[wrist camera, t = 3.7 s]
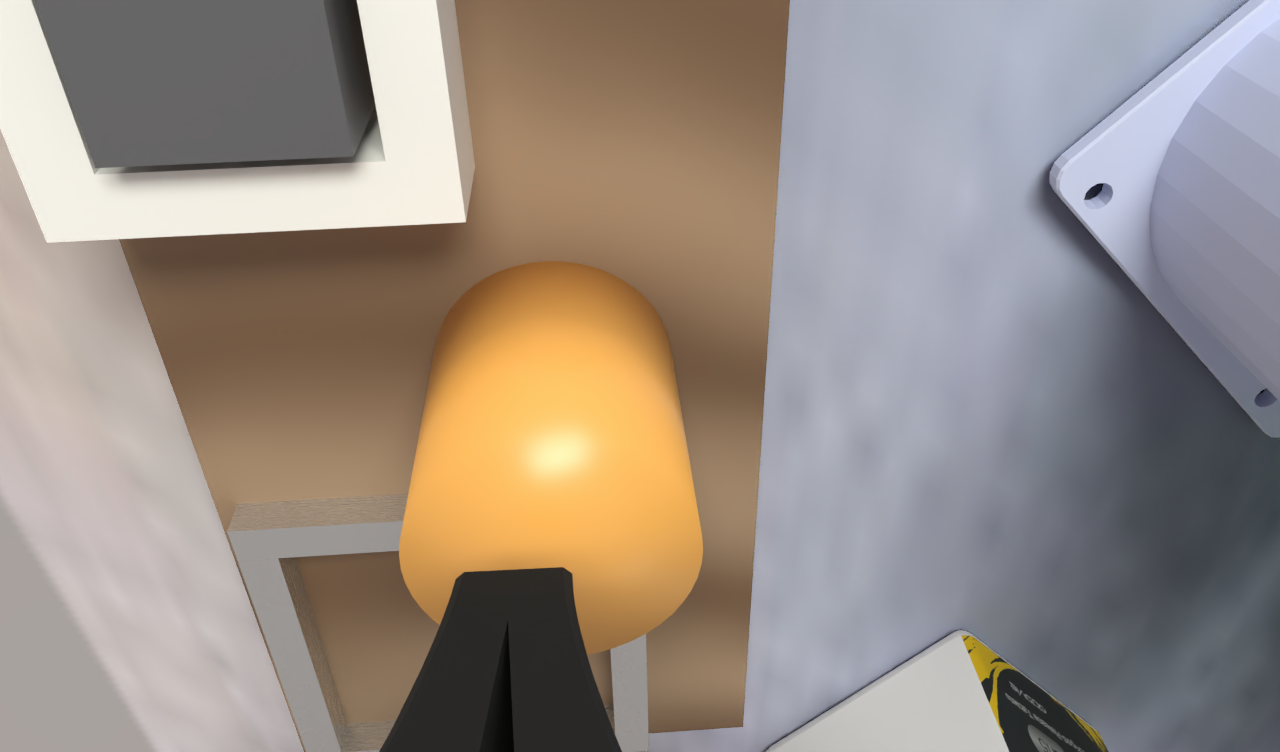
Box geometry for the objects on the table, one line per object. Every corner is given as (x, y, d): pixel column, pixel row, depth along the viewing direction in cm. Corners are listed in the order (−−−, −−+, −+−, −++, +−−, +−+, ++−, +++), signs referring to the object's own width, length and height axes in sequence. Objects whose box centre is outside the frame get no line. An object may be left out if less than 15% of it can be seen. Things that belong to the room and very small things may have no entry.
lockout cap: (720, 356, 19) (765, 546, 15) (564, 489, 20) (566, 694, 16) (540, 213, 17) (535, 386, 13) (385, 374, 18) (337, 573, 14)
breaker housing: (474, 167, 16) (465, 221, 15) (99, 184, 16) (47, 242, 14) (420, -273, 13) (399, -264, 11) (-62, -260, 12) (-155, -249, 11)
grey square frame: (646, 722, 25) (648, 750, 24) (320, 745, 25) (314, 775, 24) (640, 479, 20) (643, 506, 20) (237, 503, 20) (226, 531, 19)
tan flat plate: (734, 678, 27) (742, 726, 25) (317, 706, 26) (306, 757, 25) (793, -423, 13) (817, -432, 12) (-53, -404, 13) (-117, -411, 12)
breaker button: (380, 94, 15) (353, 156, 13) (155, 104, 15) (95, 168, 13) (336, -154, 13) (298, -124, 11) (77, -146, 13) (-6, -114, 11)
